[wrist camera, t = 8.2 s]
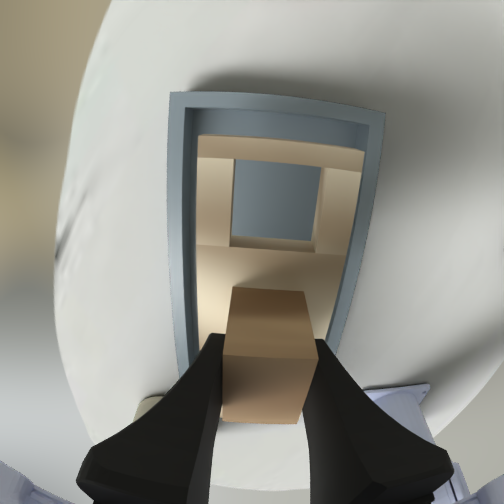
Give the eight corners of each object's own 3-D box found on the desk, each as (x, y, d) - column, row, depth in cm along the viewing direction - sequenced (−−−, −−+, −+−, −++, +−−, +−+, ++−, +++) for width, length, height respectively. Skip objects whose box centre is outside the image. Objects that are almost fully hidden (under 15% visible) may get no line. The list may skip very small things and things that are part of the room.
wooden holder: (204, 133, 11) (164, 146, 6) (354, 148, 11) (416, 172, 6) (206, 401, 18) (196, 468, 13) (296, 406, 18) (303, 473, 13)
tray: (316, 373, 23) (320, 396, 20) (186, 365, 23) (180, 388, 20) (368, 114, 15) (385, 113, 13) (182, 96, 15) (170, 92, 12)
